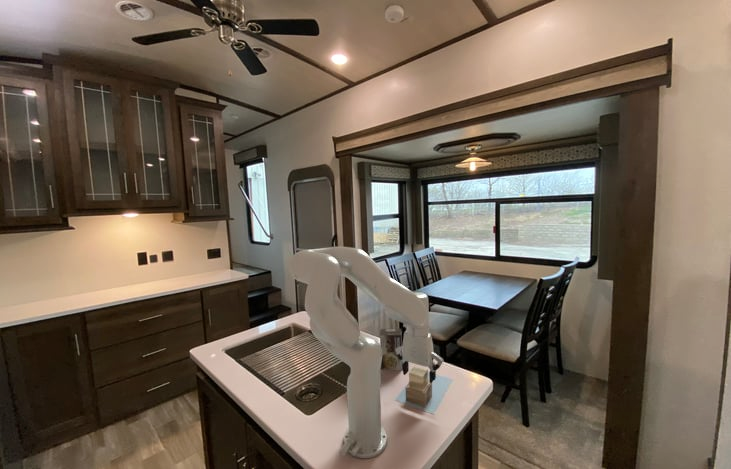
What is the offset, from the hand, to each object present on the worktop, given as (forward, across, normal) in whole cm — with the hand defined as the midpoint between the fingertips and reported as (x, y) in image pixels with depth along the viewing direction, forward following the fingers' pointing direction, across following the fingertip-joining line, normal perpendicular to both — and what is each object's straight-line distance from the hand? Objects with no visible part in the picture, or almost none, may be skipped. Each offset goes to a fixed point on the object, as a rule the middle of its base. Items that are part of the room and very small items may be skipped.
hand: (418, 376), depth 99 cm
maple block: (+3, 0, 0) cm, 3 cm away
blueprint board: (+9, 0, +6) cm, 11 cm away
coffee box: (+9, -18, +14) cm, 25 cm away
